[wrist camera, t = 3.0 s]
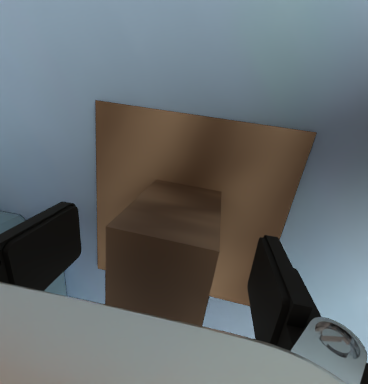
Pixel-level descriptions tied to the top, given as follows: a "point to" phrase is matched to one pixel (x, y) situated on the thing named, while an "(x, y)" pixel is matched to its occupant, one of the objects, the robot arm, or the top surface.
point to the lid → (188, 205)
